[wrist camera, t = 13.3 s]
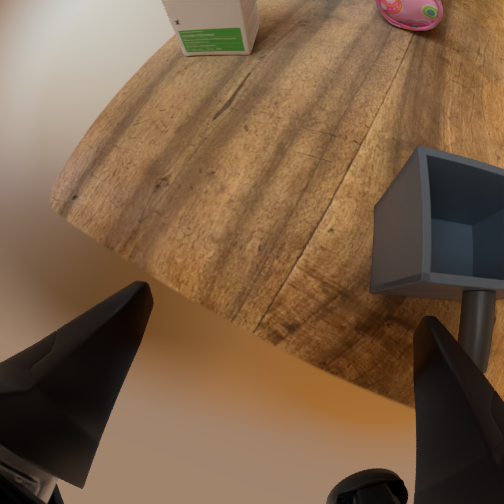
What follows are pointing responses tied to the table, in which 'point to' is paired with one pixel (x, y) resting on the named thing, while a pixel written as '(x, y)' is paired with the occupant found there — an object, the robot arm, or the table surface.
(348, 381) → the table surface
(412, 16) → the pencil case
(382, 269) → the grey box with peg
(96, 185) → the table surface
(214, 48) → the cosmetic box
